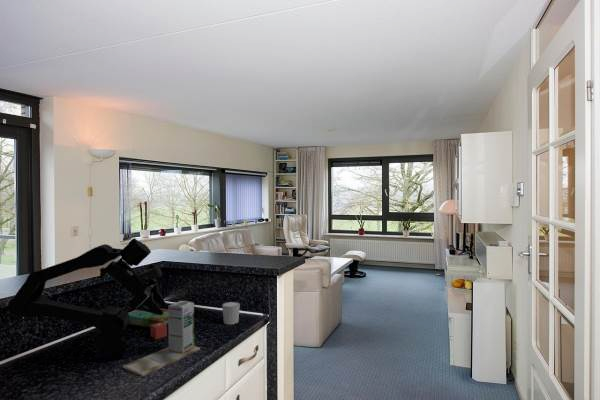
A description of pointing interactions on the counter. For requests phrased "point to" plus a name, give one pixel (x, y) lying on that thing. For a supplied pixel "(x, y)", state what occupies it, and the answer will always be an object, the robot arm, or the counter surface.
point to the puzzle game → (147, 318)
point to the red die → (158, 330)
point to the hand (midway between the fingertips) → (163, 309)
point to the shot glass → (231, 312)
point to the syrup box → (181, 326)
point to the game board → (157, 360)
